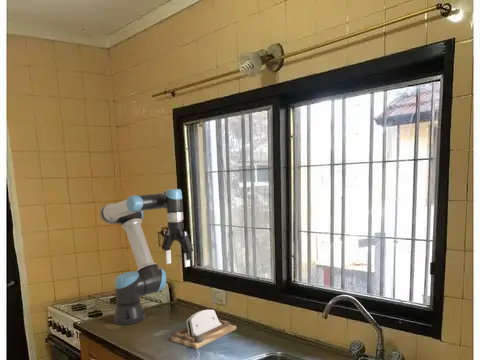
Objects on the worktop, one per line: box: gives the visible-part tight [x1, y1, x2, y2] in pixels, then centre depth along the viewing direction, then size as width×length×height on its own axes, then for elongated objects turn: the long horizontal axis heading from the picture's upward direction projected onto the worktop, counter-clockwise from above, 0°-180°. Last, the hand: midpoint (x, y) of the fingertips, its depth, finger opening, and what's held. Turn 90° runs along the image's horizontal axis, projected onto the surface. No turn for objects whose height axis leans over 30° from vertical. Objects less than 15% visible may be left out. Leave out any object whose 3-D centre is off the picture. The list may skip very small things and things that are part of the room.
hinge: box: [185, 309, 222, 337], centre depth 181 cm, size 17×5×10 cm, turn 140°
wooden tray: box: [170, 318, 237, 350], centre depth 181 cm, size 16×25×4 cm, turn 140°
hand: (177, 265), depth 195 cm, fingers open, 13 cm apart
